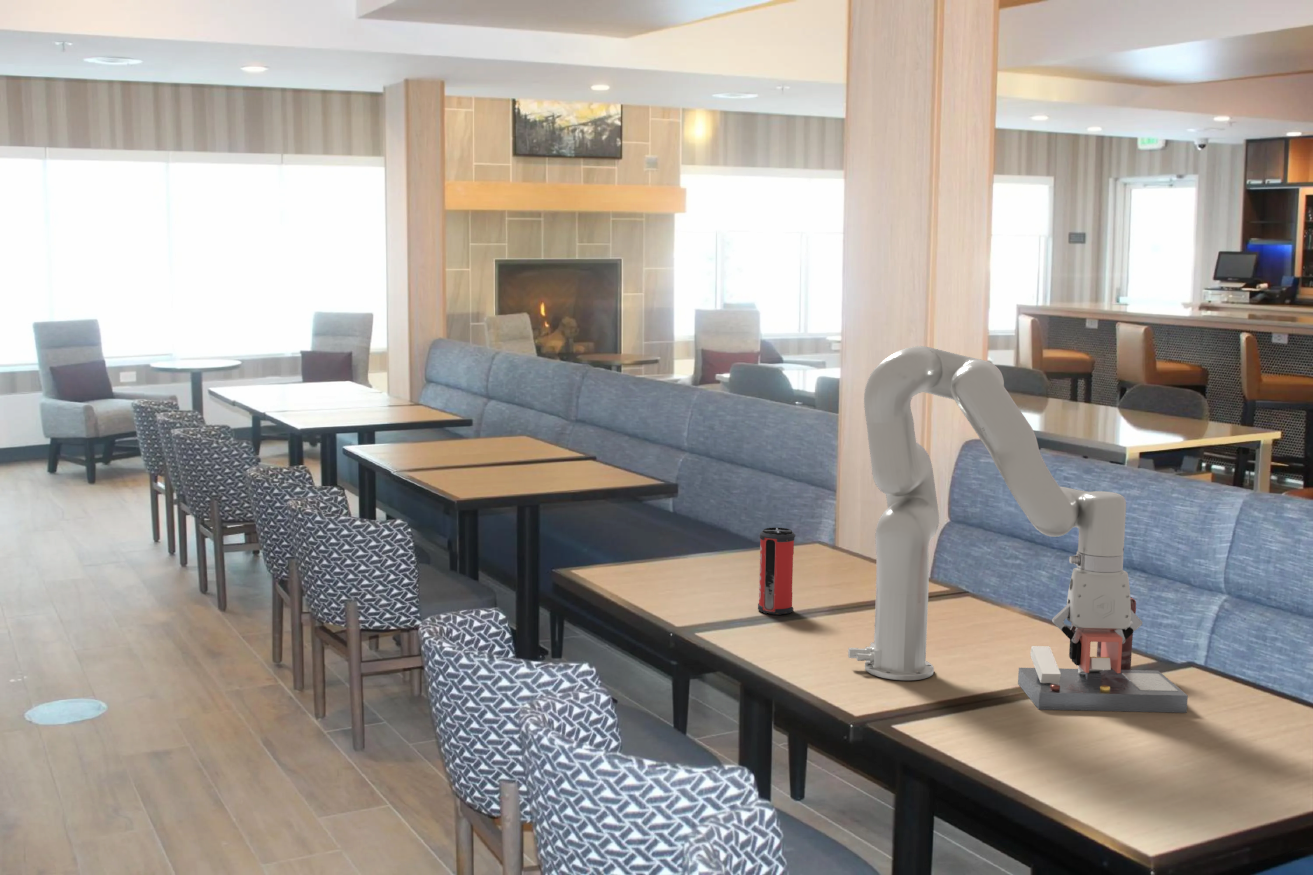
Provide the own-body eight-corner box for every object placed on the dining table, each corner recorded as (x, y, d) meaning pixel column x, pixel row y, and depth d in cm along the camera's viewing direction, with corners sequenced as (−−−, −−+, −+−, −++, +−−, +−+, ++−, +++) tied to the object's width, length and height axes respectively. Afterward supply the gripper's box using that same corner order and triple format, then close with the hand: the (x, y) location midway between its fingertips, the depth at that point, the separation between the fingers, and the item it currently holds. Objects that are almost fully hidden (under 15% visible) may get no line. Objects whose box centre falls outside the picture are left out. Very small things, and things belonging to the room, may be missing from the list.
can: (1134, 675, 241) (1138, 601, 239) (1098, 672, 242) (1102, 599, 240) (1129, 665, 247) (1133, 594, 245) (1094, 663, 248) (1098, 591, 246)
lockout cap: (1085, 672, 224) (1087, 636, 223) (1070, 657, 233) (1071, 623, 232) (1120, 673, 224) (1122, 637, 223) (1103, 657, 233) (1105, 623, 232)
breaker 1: (1040, 682, 225) (1042, 673, 224) (1030, 654, 232) (1031, 645, 232) (1059, 683, 225) (1060, 674, 224) (1048, 655, 232) (1049, 646, 231)
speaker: (794, 615, 279) (797, 533, 277) (759, 615, 280) (761, 533, 277) (791, 606, 287) (793, 526, 285) (756, 606, 287) (758, 526, 285)
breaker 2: (1091, 669, 224) (1091, 656, 225) (1078, 672, 232) (1077, 660, 232) (1110, 669, 224) (1110, 656, 225) (1096, 672, 232) (1095, 660, 232)
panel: (1038, 709, 221) (1039, 685, 221) (1017, 683, 235) (1019, 660, 235) (1186, 712, 221) (1188, 688, 220) (1157, 686, 235) (1158, 663, 234)
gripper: (1056, 567, 222) (1051, 669, 225) (1157, 568, 222) (1152, 670, 224) (1044, 557, 230) (1039, 656, 232) (1142, 558, 229) (1137, 657, 232)
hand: (1095, 662), depth 228 cm, fingers closed on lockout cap, 6 cm apart
